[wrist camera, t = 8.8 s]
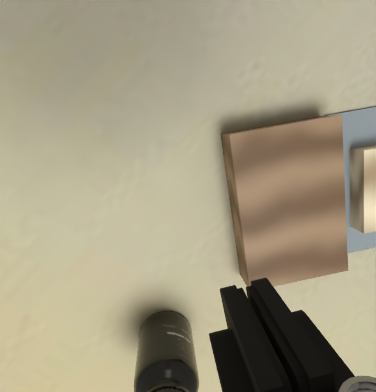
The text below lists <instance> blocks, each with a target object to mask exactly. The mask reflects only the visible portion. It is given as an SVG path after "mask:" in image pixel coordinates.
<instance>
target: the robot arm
mask: <svg viewBox="0 0 376 392" xmlns="http://www.w3.org/2000/svg"><path fill="white" fill-rule="evenodd" d="M246 291H247V296H246V294H245V292H244V290H243V289H242V288H239V289H237V288H236V286H235V285H233V286H229V287H225V288H221V289H220V293H221V298H222V303H223V308H224V312H225V317H226V322H227V327H228V329H225V330H221V331H217V332H213V333H209V336H210V341H211V345H212V350H213V354H214V358H215V362H216V367H217V371H218V375H219V379H220V383H221V388H222V392H376V378H374V377H370V376H356V377H355V376H354V374H353V373H352V372H351V371H350V369H349V368H348V367H347V366H346V364H345V363H344V362H343V360H342V359H341V358H340V357H339V355H338V354H337V353H336V352H335V350H334V349H333V348H332V346H331V345H330V344H329V343H328V341H327V340H326V339H325V338H324V336H323V335H322V334H321V332H320V331H319V330H318V329H317V327H316V326H315V325H314V323H313V322H312V321H311V320H310V318H309V317H308V316H307V315H306V313H305V312H304V311H302V310H299V311H295V312H291V311H290V310H289V308H288V307H287V305H286V304H285V303H284V301H283V300H282V298H281V297H280V296H279V294H278V293H277V291H276V290H275V289H274V287H273V286H272V284H271V283H270V282H269V280H268V279H267V278H266V277H265V278H261V279H257V280H253V281H251V286H247V287H246ZM247 297H248V298H247Z"/></svg>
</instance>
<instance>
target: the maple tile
mask: <svg viewBox="0 0 376 392" xmlns="http://www.w3.org/2000/svg"><path fill="white" fill-rule="evenodd" d="M349 163H350V227H352V228H354V229H356V230H358V231H360V232H362V233H370V232H375V231H376V145H371V146H365V147H359V148H353V149H349Z"/></svg>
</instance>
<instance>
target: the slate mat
mask: <svg viewBox="0 0 376 392" xmlns="http://www.w3.org/2000/svg"><path fill="white" fill-rule="evenodd" d="M333 115H342V126H343V152H344V178H345V204H346V230H347V253H351V252H356V251H361V250H365V249H370V248H375V247H376V231H375V232H370V233H362V232H360V231H358V230H356V229H354V228H352V227H350V163H349V149H353V148H359V147H365V146H371V145H376V107H372V108H366V109H360V110H355V111H349V112H344V113H338V114H332V115H327V116H333Z"/></svg>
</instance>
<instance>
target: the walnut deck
mask: <svg viewBox="0 0 376 392" xmlns="http://www.w3.org/2000/svg"><path fill="white" fill-rule="evenodd" d="M221 139H222V146H223V154H224V161H225V168H226V175H227V182H228V190H229V197H230V204H231V211H232V218H233V226H234V233H235V240H236V247H237V254H238V262H239V269H240V275H241V277H242V278H243V280H244V282H245V284H246V285H247V286H251V281H253V280H257V279H261V278H265V277H266V278H267V279H268V280H269V282H270V283H271V284H272V286H278V285H283V284H287V283H292V282H297V281H301V280H306V279H311V278H315V277H320V276H325V275H329V274H334V273H338V272H343V271H348V256H347V230H346V204H345V178H344V152H343V126H342V115H333V116H322V117H315V118H310V119H304V120H299V121H293V122H287V123H282V124H276V125H271V126H265V127H259V128H254V129H248V130H242V131H237V132H231V133H226V134H221Z"/></svg>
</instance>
